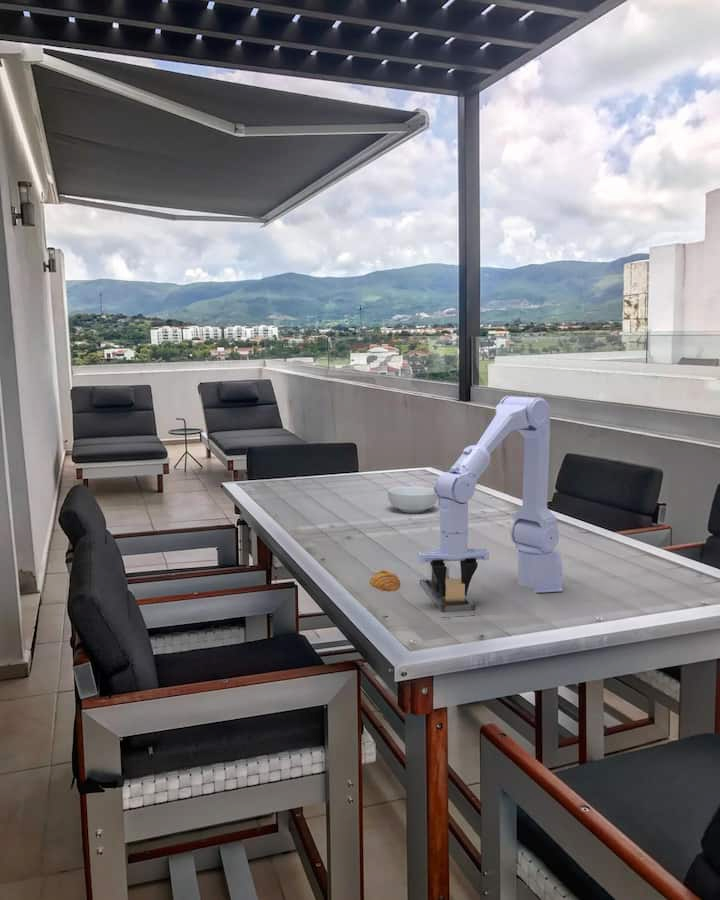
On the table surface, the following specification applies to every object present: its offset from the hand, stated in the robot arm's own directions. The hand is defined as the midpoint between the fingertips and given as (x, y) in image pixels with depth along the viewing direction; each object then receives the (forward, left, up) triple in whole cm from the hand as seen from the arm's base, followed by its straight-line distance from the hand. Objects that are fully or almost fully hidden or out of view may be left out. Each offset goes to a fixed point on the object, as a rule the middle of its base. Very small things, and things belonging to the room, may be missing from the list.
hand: (453, 594), depth 170 cm
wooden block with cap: (0, 0, -2) cm, 2 cm away
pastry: (+11, -17, -4) cm, 21 cm away
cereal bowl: (-14, -104, -4) cm, 105 cm away
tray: (0, -6, -3) cm, 7 cm away
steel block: (0, -13, -2) cm, 13 cm away
